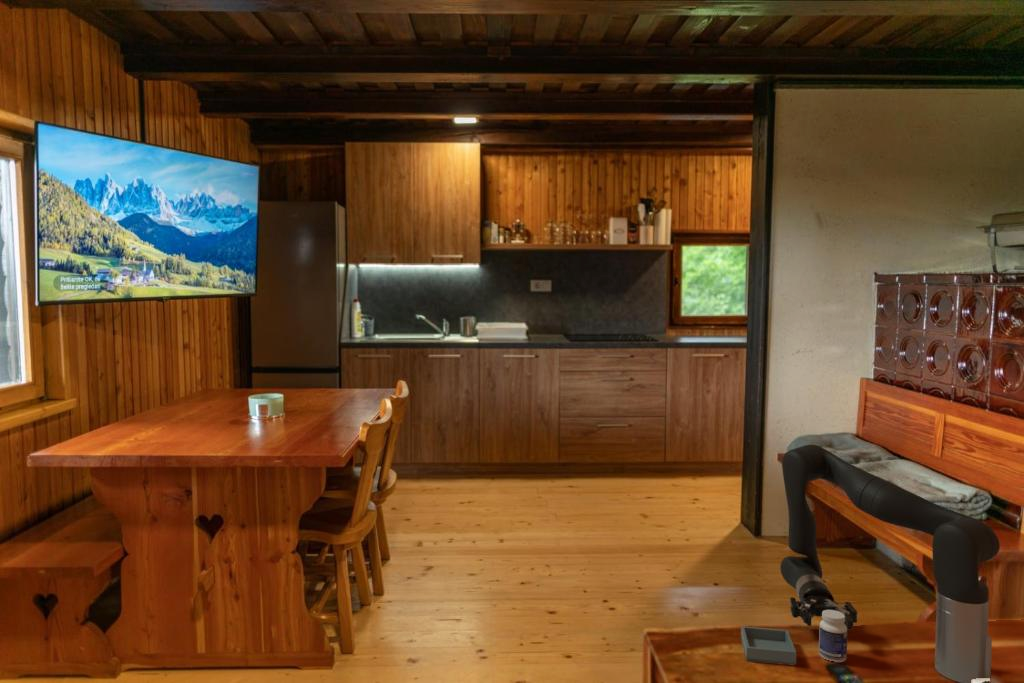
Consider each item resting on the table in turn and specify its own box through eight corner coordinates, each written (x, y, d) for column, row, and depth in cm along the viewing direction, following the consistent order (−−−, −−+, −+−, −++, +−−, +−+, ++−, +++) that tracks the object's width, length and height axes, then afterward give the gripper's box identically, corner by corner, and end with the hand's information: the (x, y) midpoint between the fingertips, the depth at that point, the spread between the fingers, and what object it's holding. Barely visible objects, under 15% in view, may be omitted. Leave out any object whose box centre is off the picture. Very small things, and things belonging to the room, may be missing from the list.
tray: (787, 642, 160) (787, 630, 160) (796, 665, 150) (796, 652, 150) (741, 638, 162) (741, 626, 162) (746, 660, 152) (746, 647, 152)
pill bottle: (849, 664, 150) (850, 620, 150) (822, 662, 151) (823, 618, 151) (842, 651, 156) (843, 609, 155) (816, 649, 157) (816, 607, 156)
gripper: (784, 577, 174) (796, 605, 158) (844, 582, 171) (863, 610, 155) (784, 606, 174) (796, 636, 158) (844, 611, 171) (862, 642, 155)
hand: (829, 623), depth 157 cm, fingers open, 8 cm apart
